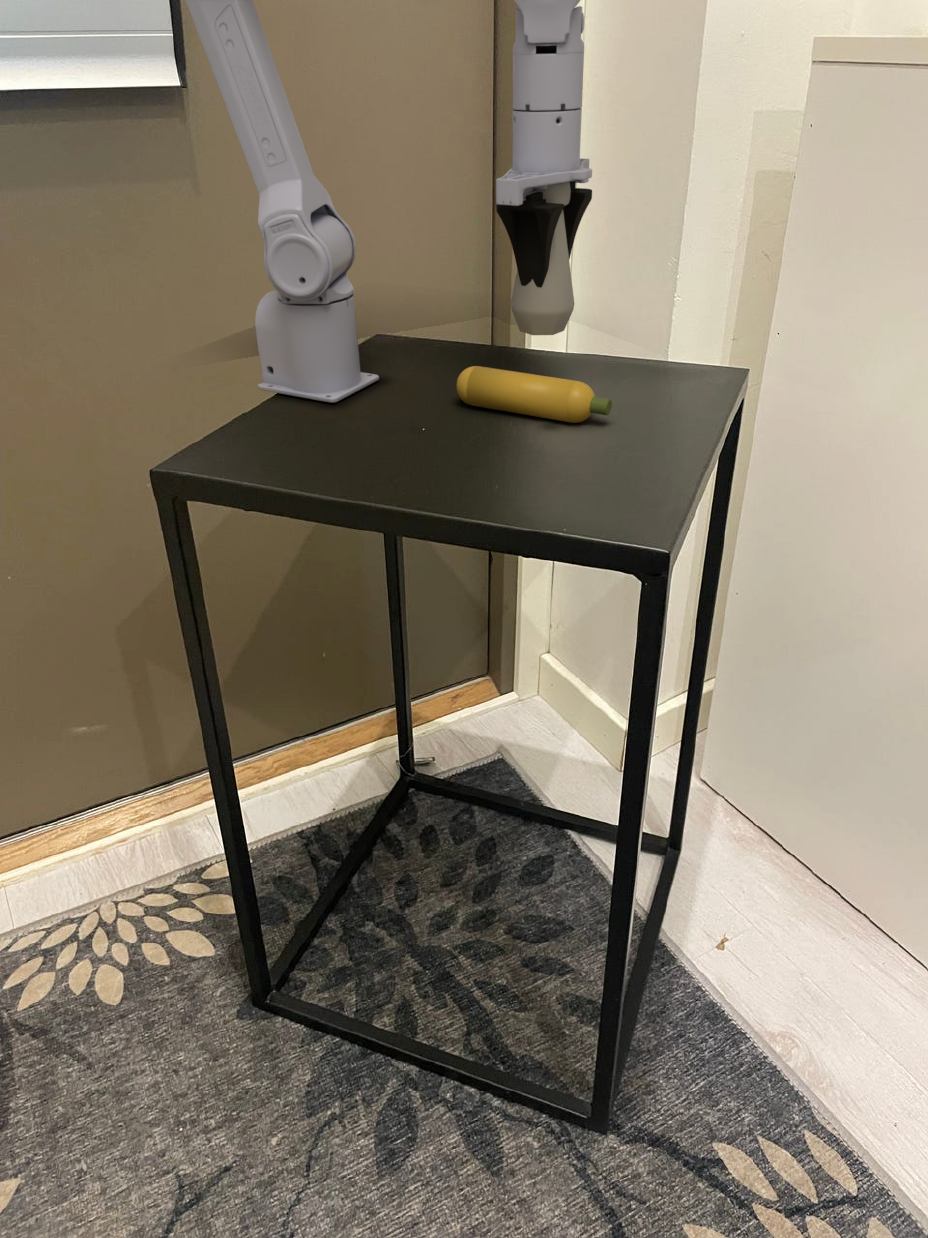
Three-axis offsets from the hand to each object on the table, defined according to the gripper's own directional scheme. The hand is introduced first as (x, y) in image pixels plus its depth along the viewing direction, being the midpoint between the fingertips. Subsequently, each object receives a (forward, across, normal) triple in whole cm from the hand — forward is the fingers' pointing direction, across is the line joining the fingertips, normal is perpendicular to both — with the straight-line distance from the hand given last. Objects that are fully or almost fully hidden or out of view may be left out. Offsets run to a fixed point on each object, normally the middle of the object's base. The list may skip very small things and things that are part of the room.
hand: (543, 280), depth 83 cm
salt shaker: (+5, 0, 0) cm, 5 cm away
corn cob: (+10, -6, -1) cm, 12 cm away
